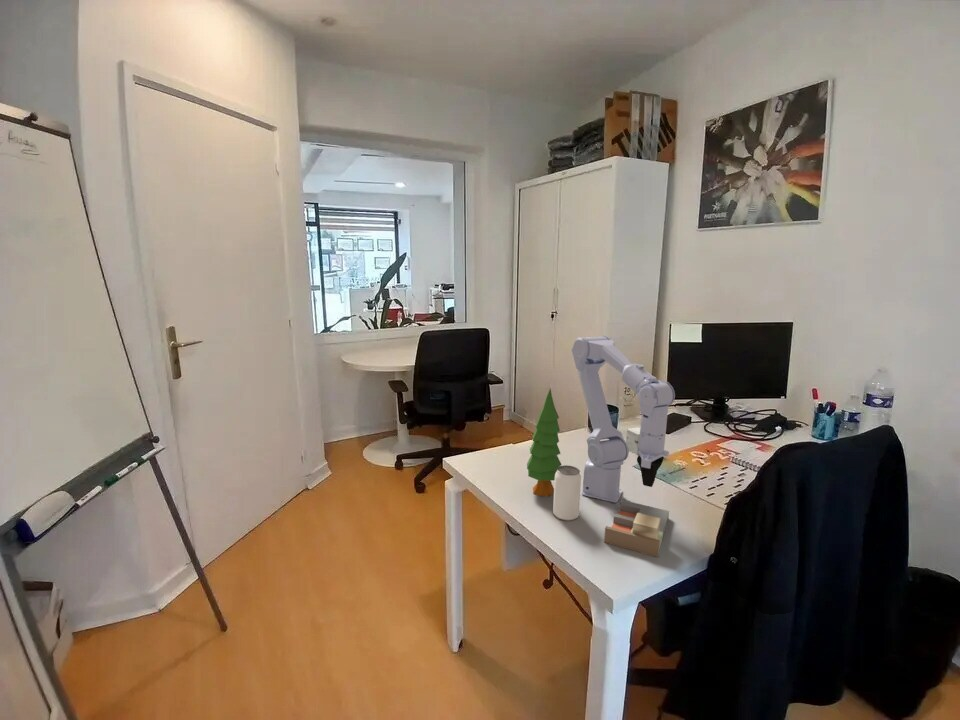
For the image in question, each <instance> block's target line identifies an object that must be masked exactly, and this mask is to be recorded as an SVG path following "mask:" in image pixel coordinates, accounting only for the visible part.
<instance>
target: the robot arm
mask: <svg viewBox="0 0 960 720" xmlns="http://www.w3.org/2000/svg"><path fill="white" fill-rule="evenodd" d="M572 345H573V346H572V347H571V352H572V356H573V361H574V364H575V365H574V366H575V368H576V369H577V374H578V377H579V381H580V385H581V389H582V394H583V397H584V399H585V404H586V407H587V408H586V409H587V412H588V415H589V419H590V420H589V421H590V422H591V423H590V424H591V427H592V432H591V433H590V434H589V436H588V437H587V439H586V442H587V455H588V459H587V460H586V463H585V464H584V469H583V479H582V492H581V495H583V496H585V497H591V498H593V499H594V498H595V499H598V500H603V501H607V502H610V503H618V501H619V499H620V497H621V495H622V494H623V491H624V490H623V489H622V488H620V483H621V472H622V465H624V461H626V460H627V459H628V457H629V454H630V451H629V449H628V445H627V443H626V439H624V437H623V433H622V432H621V431H620V430H618V429H617V428H615V427H614V425H613V423H612V418H611V416H610V412H609V408H608V404H607V401H606V396H605V394H604V390H603V386H602V382H601V378H600V375H599V371H600V369H601V368H602V367H604V366H605V364H606V363H607V364H609V365H610V366H611V367H613V368H614V370H616V371H618V372H619V373H620V374H621V381H623V382H624V383H625V384H626V386H628V388H630V389H631V390H632V391H633V392H634V393H635V394H636V395H637V401H638V402H639V403H638V404H639V411H640V414H641V418H640V427H641V428H640V439H639V447H638V453H639V454H638V455H637V457H636V462H637V465H638V466H639V468H640V472H641V480H642V481H641V482H642V485H643V486H645V487H649V488H652V487H653V486H654V483H655V480H656V477H657V473H658V470H659V469H660V468H661V465H662V464H663V462H664V459H665V457H669V456H670V451H669V450H665V442H666V432H667V424H668V423H667V422H668V413H669V406H671V405H672V404H673V403H674V402H675V397H676V393H675V392H676V391H675V390H674V387H673V386H672V385H671V383H670V382H668V381H665V380H659V379H657V377H656V376H654V375H653V374H651V373H650V372H649V371H648V370H646V368H645V366H644V365H643V364H642V363H640V364H639V363H631V361H630V360H628V358H627V357H626V356H625V355H624V354H623V353H622V352H621V350H619V349H618V348H617V347H616V343H615V341H614V340H612V339H611V337H609V336H608V335H602V336H588V337H586V336H585V337H583V336H579V337H577V338H576V339H575V340H574V342H573V344H572Z"/></svg>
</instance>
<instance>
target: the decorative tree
mask: <svg viewBox="0 0 960 720" xmlns="http://www.w3.org/2000/svg"><path fill="white" fill-rule="evenodd" d="M559 418H560V416H559V414H558V412H557V409H556V407H555V403H554V399H553V395H552V389H551V387H550V388H549V391H548V393H547V395H546V397H545V400H544V404H543V407H542V409H541V411H540V413H539V415H538V420H537V422H536V424H535V428H536V429H535V430H534V433H533V435H532V444H531V446H530V448H529V452H530V453H529V454H531V455H530V456H529V459H528V461H527V463H526V469H527V471H528V473H527V474H528V475H527V476H528V478H531V479H535V480H537V483H536V484H535V485H534V486H533V487H532V494H533V495H536V496H539V497H551V496H552V495H554V484H552V481H554V480H555V473H556V471H557V468H558V467H559V466H563V465H562V462H561V460H560V458H559V457H558V456H559V455H561V451H560V448H559V446H558V443H559V442H560V440H559V435H558V433H560V431H561V430H560V425H559V421H558V419H559Z"/></svg>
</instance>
